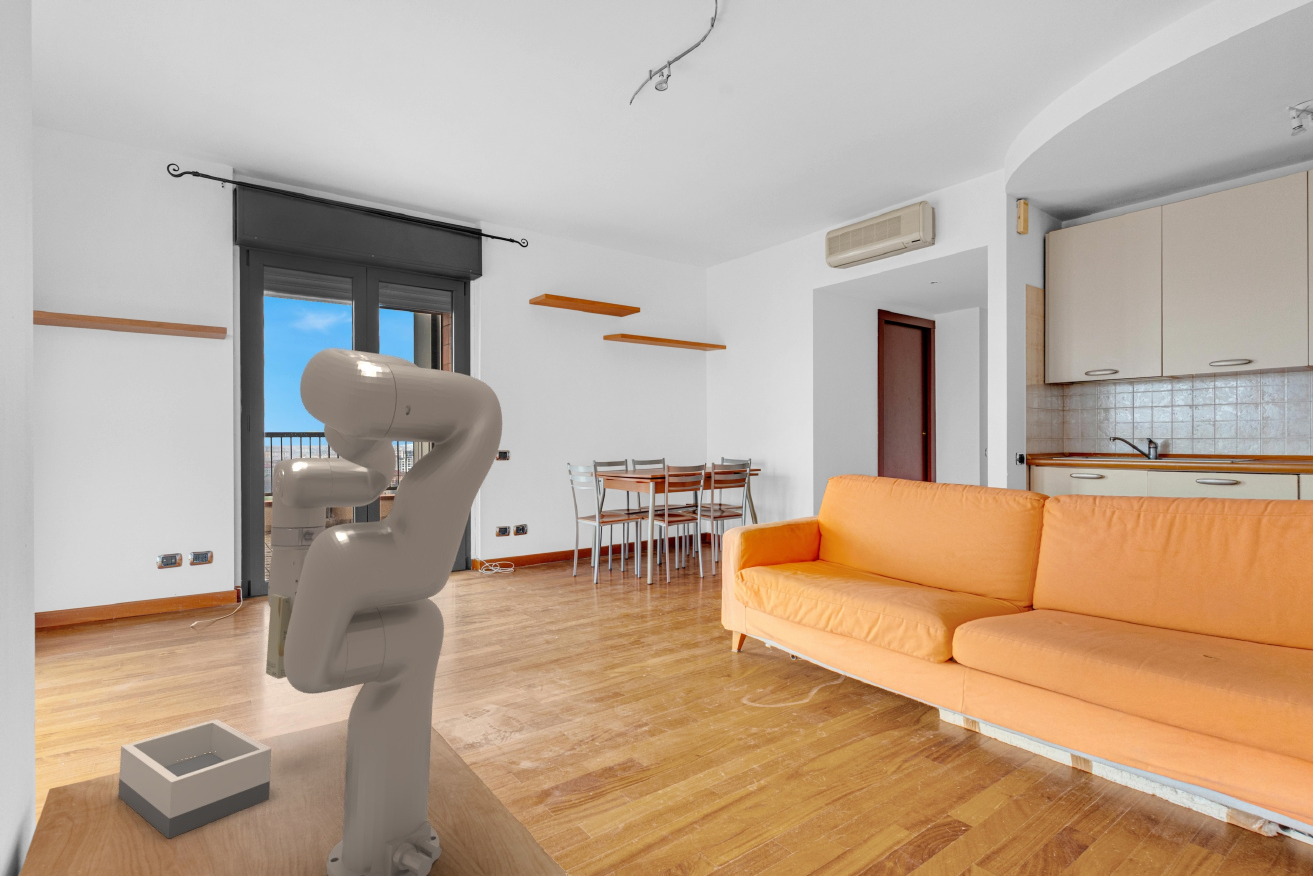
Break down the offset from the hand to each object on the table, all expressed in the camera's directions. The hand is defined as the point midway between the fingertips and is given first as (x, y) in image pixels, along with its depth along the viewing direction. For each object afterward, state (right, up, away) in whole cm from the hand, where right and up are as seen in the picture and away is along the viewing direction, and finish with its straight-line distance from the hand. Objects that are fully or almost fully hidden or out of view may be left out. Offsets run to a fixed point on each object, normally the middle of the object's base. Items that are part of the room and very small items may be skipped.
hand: (293, 654), depth 102 cm
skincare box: (0, -3, 0) cm, 3 cm away
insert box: (-8, -17, -10) cm, 21 cm away
